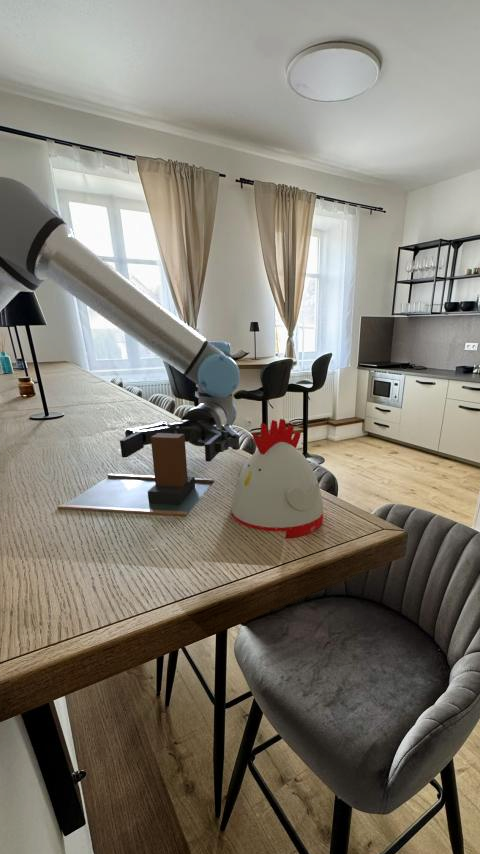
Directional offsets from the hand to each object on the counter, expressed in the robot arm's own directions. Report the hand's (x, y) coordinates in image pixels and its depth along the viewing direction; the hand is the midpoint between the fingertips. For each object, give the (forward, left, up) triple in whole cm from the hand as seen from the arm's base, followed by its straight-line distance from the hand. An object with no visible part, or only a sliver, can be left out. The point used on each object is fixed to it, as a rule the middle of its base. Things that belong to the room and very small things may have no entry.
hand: (164, 451), depth 64 cm
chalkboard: (-5, 0, -9) cm, 10 cm away
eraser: (0, +1, -8) cm, 8 cm away
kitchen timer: (+18, +4, -9) cm, 20 cm away
